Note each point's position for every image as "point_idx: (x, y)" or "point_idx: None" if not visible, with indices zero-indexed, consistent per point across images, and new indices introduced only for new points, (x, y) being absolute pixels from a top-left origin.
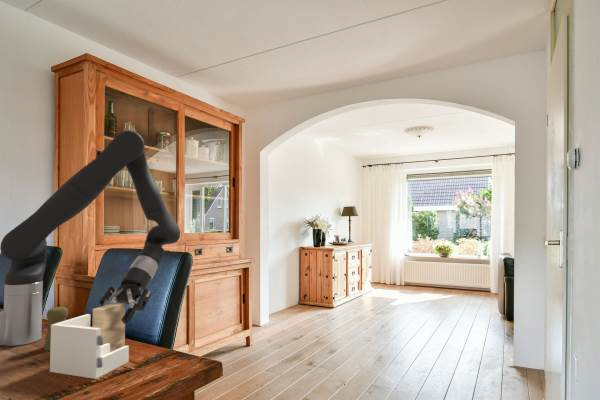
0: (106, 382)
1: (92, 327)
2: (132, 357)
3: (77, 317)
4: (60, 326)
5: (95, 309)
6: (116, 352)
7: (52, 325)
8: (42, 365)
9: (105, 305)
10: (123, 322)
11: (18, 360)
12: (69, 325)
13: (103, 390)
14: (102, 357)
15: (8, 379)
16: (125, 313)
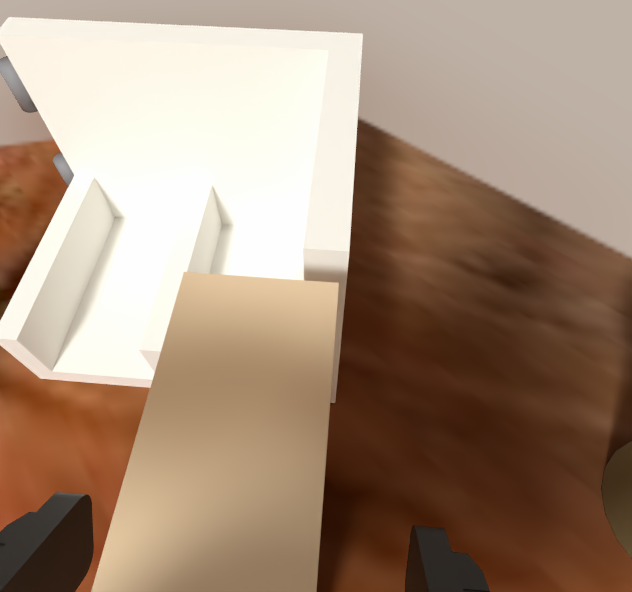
0: (53, 200)
1: (55, 35)
2: (44, 443)
3: (339, 161)
4: (283, 33)
5: (296, 281)
6: (37, 258)
7: (348, 35)
8: (445, 270)
9: (313, 476)
10: (90, 527)
11: (623, 294)
12: (233, 40)
13: (35, 159)
14: (54, 163)
15: (435, 163)
16: (32, 547)
